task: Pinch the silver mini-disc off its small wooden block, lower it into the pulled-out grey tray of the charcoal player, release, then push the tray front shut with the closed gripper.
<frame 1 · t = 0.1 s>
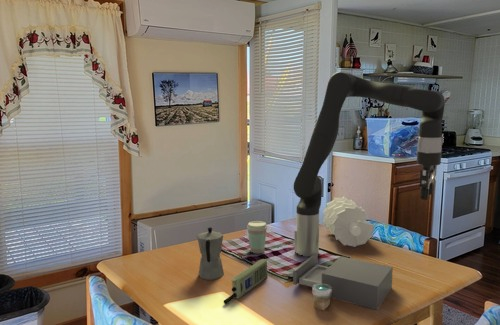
hand: (426, 196, 141), 29 cm above the table, fingers open, 8 cm apart
spiral staircase: (346, 240, 185), on the table
tray: (327, 273, 140), point 4 cm above the table, slide at 9.0 cm
coffeepot: (211, 276, 148), on the table
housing: (357, 291, 135), on the table
coffee cup: (257, 251, 173), on the table
disc: (322, 293, 125), point 4 cm above the table, touching pedestal
pedestal: (321, 305, 126), on the table
handheld radio: (246, 290, 137), on the table
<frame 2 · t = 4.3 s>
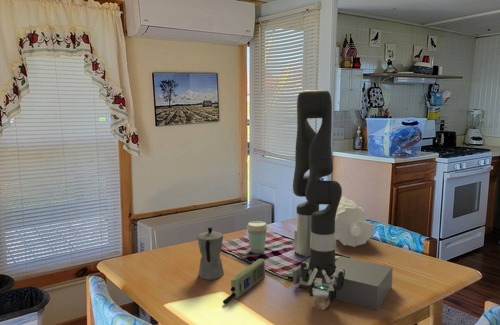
hand: (322, 297, 125), 3 cm above the table, fingers closed on disc, 6 cm apart
disc: (322, 293, 125), point 4 cm above the table, touching gripper, pedestal
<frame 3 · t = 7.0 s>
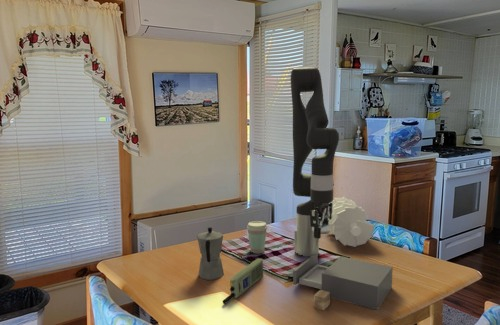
hand: (321, 235, 139), 17 cm above the table, fingers closed on disc, 6 cm apart
disc: (321, 231, 139), point 19 cm above the table, touching gripper
when the fingers open (4 cm above the table, at t = 9.5 s): disc drops 3 cm, resting on tray.
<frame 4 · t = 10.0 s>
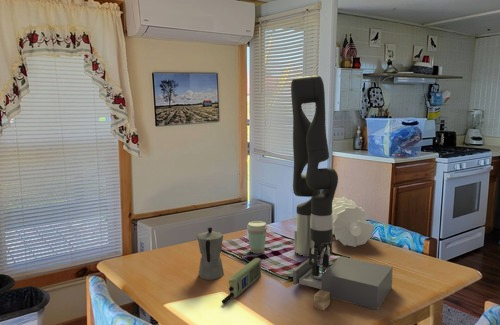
hand: (320, 271, 141), 4 cm above the table, fingers open, 8 cm apart
tray: (327, 273, 140), point 4 cm above the table, slide at 9.0 cm, touching disc
disc: (320, 276, 141), point 2 cm above the table, touching tray
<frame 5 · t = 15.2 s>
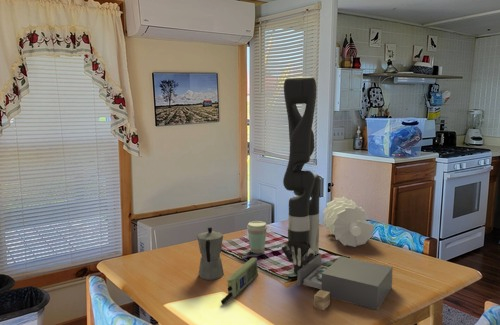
hand: (298, 274, 144), 2 cm above the table, fingers closed
tray: (331, 274, 139), point 4 cm above the table, slide at 7.4 cm, touching disc, gripper
disc: (324, 277, 141), point 2 cm above the table, touching tray
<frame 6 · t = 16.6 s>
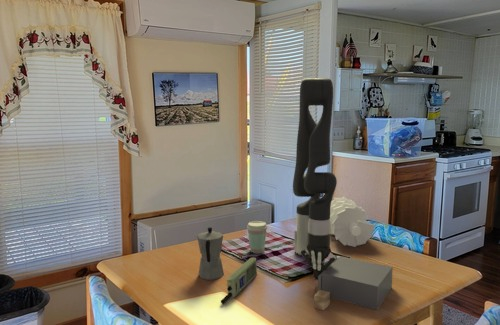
hand: (318, 279, 140), 2 cm above the table, fingers closed
tray: (352, 279, 135), point 4 cm above the table, slide at -0.1 cm, touching disc, gripper
disc: (345, 282, 136), point 2 cm above the table, touching tray
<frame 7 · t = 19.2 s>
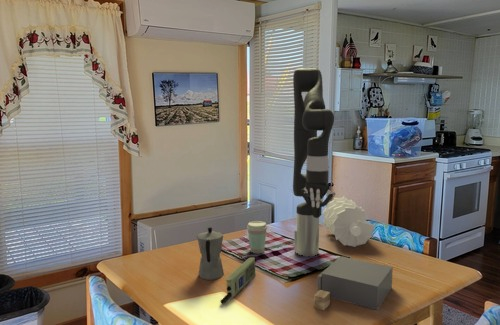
hand: (316, 217, 142), 23 cm above the table, fingers closed
tray: (352, 279, 135), point 4 cm above the table, slide at 0.0 cm, touching disc
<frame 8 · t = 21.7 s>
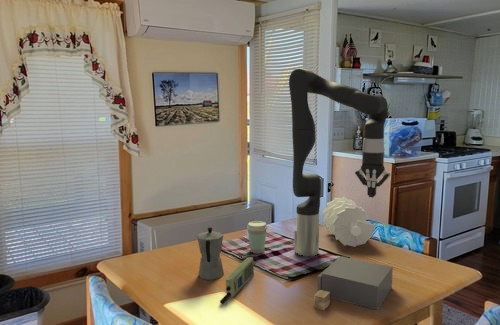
hand: (371, 196, 151), 27 cm above the table, fingers closed
at the end: tray slide at 0.0 cm; disc inside the target area on the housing (3.5 cm from its centre), point 2.1 cm above the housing's base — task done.
